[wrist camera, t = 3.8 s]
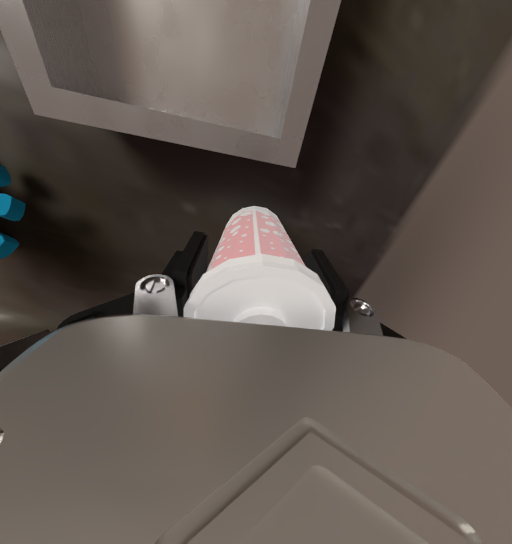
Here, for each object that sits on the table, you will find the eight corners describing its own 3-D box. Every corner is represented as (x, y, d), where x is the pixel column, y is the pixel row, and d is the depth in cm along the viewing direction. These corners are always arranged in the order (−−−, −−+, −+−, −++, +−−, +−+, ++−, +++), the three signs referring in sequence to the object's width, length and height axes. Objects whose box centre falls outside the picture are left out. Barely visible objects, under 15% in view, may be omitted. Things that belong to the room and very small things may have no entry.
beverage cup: (219, 267, 17) (154, 550, 5) (210, 194, 13) (-45, 578, 2) (288, 267, 17) (370, 537, 5) (298, 195, 13) (597, 540, 2)
